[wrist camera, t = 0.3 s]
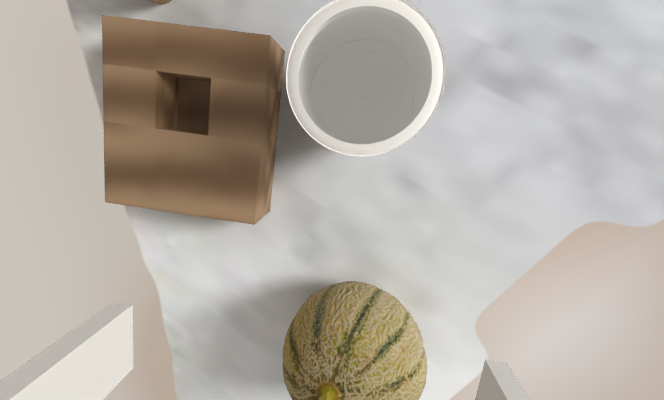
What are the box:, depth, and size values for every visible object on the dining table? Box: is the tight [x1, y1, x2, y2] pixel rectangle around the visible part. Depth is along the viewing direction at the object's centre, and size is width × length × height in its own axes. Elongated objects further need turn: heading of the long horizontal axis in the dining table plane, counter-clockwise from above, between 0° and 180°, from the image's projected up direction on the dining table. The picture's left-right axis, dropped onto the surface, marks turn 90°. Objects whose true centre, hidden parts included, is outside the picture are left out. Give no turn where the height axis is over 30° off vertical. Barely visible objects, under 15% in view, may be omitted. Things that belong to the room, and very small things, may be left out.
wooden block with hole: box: [102, 15, 285, 224], centre depth 35 cm, size 18×16×6 cm
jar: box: [286, 0, 446, 156], centre depth 29 cm, size 11×10×15 cm
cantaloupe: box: [283, 281, 427, 400], centre depth 34 cm, size 15×15×15 cm
